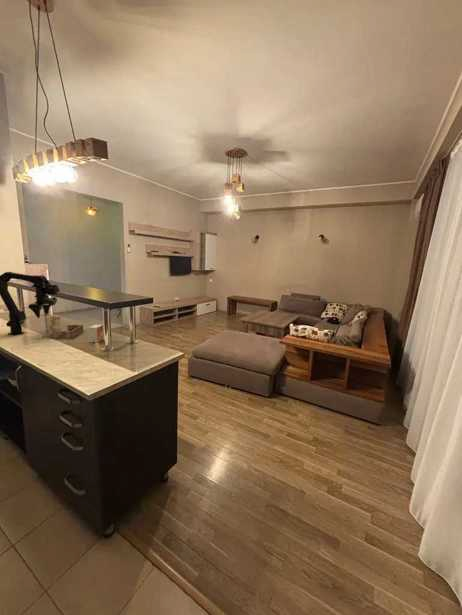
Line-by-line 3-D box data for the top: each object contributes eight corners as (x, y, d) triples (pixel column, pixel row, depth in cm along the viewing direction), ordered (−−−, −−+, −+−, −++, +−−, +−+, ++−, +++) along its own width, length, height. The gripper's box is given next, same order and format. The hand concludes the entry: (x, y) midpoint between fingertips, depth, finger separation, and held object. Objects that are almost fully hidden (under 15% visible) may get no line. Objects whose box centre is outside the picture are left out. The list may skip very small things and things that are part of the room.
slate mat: (41, 336, 167) (41, 336, 166) (51, 331, 178) (51, 331, 178) (59, 337, 168) (59, 336, 168) (68, 332, 180) (68, 331, 180)
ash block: (49, 335, 170) (48, 316, 168) (53, 332, 175) (52, 315, 173) (57, 335, 171) (56, 317, 169) (61, 333, 176) (60, 315, 173)
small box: (97, 343, 163) (96, 327, 161) (88, 342, 163) (88, 327, 161) (103, 339, 171) (103, 324, 169) (95, 338, 171) (95, 324, 169)
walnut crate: (55, 338, 166) (55, 331, 165) (68, 331, 182) (68, 324, 181) (72, 338, 167) (71, 331, 166) (83, 331, 184) (83, 324, 183)
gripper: (46, 296, 159) (47, 320, 162) (61, 292, 177) (62, 313, 180) (27, 295, 157) (29, 319, 160) (44, 291, 175) (45, 313, 178)
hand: (42, 316), depth 169 cm, fingers open, 9 cm apart
